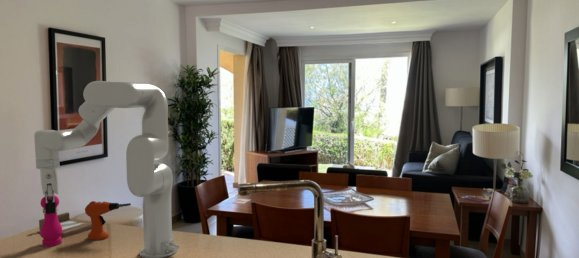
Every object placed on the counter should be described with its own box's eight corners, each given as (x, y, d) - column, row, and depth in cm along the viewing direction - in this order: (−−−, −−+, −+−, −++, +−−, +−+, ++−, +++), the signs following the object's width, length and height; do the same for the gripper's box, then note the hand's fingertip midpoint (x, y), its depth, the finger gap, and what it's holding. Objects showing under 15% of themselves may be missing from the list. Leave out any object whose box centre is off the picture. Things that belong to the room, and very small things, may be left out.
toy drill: (132, 236, 153) (126, 198, 152) (85, 242, 155) (79, 204, 153) (138, 232, 158) (132, 195, 157) (92, 237, 159) (86, 200, 158)
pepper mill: (36, 246, 148) (33, 193, 146) (50, 239, 155) (48, 188, 153) (53, 247, 146) (50, 193, 145) (67, 240, 153) (65, 189, 152)
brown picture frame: (91, 228, 167) (91, 217, 167) (64, 237, 157) (63, 225, 156) (67, 223, 175) (66, 212, 174) (39, 231, 164) (38, 220, 164)
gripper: (60, 165, 143) (63, 215, 144) (58, 159, 157) (60, 204, 159) (36, 167, 139) (38, 218, 140) (35, 161, 153) (38, 207, 155)
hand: (50, 210), depth 149 cm, fingers closed on pepper mill, 5 cm apart
